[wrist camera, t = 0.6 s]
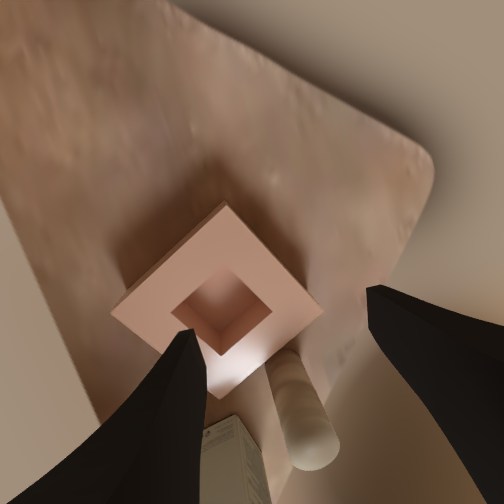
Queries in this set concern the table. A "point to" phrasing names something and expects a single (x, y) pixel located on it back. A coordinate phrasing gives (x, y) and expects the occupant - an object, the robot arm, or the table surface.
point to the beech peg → (300, 413)
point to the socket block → (220, 299)
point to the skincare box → (231, 466)
